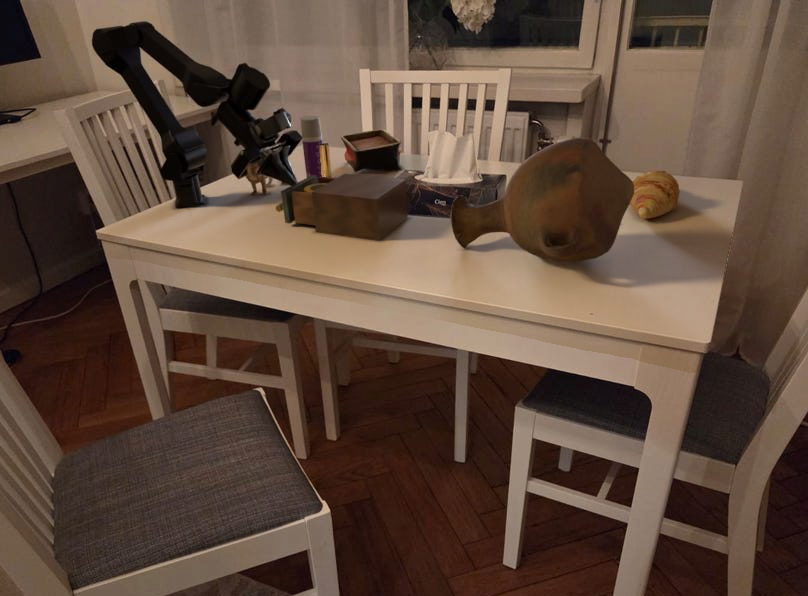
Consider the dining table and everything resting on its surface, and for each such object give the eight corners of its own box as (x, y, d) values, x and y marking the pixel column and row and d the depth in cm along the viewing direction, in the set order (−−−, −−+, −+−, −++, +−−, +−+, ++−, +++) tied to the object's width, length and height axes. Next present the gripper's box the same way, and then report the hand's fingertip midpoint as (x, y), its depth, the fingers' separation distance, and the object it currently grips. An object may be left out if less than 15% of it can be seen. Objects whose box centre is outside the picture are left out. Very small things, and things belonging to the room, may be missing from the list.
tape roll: (304, 208, 131) (301, 184, 129) (334, 205, 133) (332, 181, 130) (308, 218, 126) (306, 193, 123) (340, 214, 127) (338, 190, 125)
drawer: (268, 220, 129) (263, 189, 126) (299, 202, 138) (296, 173, 135) (341, 230, 122) (338, 197, 119) (369, 211, 131) (367, 180, 128)
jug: (644, 251, 108) (483, 252, 124) (648, 131, 103) (479, 148, 119) (614, 273, 92) (435, 270, 108) (617, 132, 86) (427, 151, 103)
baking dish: (350, 185, 156) (351, 146, 149) (338, 157, 169) (339, 119, 163) (406, 183, 159) (409, 144, 152) (390, 155, 172) (393, 118, 165)
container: (323, 185, 151) (316, 120, 143) (304, 185, 152) (297, 120, 143) (328, 179, 154) (322, 115, 146) (310, 179, 155) (303, 115, 147)
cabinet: (316, 231, 124) (311, 192, 120) (347, 210, 134) (344, 173, 130) (378, 240, 119) (376, 199, 115) (407, 218, 129) (406, 179, 124)
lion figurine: (263, 200, 143) (257, 160, 138) (243, 199, 145) (236, 159, 140) (290, 181, 155) (285, 143, 150) (271, 180, 156) (265, 143, 152)
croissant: (657, 242, 120) (686, 208, 115) (612, 213, 121) (639, 179, 115) (665, 204, 136) (691, 173, 131) (625, 180, 137) (649, 147, 131)
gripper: (232, 106, 115) (290, 171, 117) (288, 88, 129) (340, 147, 130) (207, 148, 123) (262, 208, 124) (263, 127, 136) (312, 181, 138)
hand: (296, 185), depth 129 cm, fingers closed, pressing on drawer
